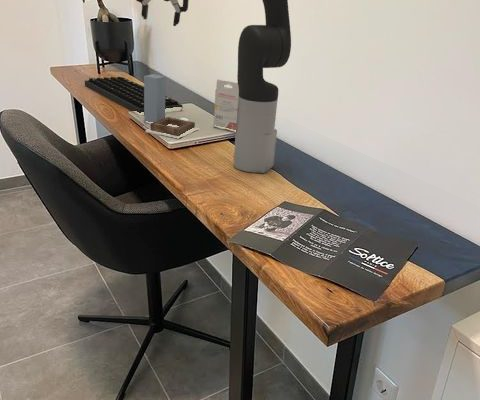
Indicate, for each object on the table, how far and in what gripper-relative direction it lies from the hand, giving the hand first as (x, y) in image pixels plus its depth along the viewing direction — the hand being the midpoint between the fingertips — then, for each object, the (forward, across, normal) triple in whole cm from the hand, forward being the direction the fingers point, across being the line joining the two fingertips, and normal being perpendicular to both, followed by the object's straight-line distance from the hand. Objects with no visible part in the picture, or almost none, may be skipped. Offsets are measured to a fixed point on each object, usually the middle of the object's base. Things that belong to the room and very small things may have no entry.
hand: (160, 22), depth 139 cm
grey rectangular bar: (+29, +2, -4) cm, 29 cm away
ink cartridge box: (+26, +25, -4) cm, 37 cm away
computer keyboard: (+34, -11, +24) cm, 43 cm away
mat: (+27, +9, -12) cm, 31 cm away
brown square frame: (+27, +9, -12) cm, 30 cm away
